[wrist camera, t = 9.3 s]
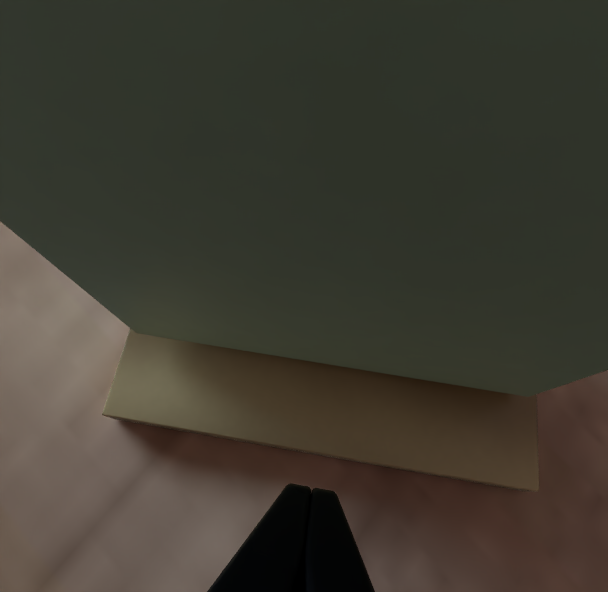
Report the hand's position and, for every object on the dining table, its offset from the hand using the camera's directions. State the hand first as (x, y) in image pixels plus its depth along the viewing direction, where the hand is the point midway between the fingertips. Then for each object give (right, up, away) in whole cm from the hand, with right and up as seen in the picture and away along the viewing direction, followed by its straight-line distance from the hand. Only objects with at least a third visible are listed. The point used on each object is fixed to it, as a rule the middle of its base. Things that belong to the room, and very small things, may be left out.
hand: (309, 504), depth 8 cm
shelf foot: (+1, +1, +7) cm, 8 cm away
